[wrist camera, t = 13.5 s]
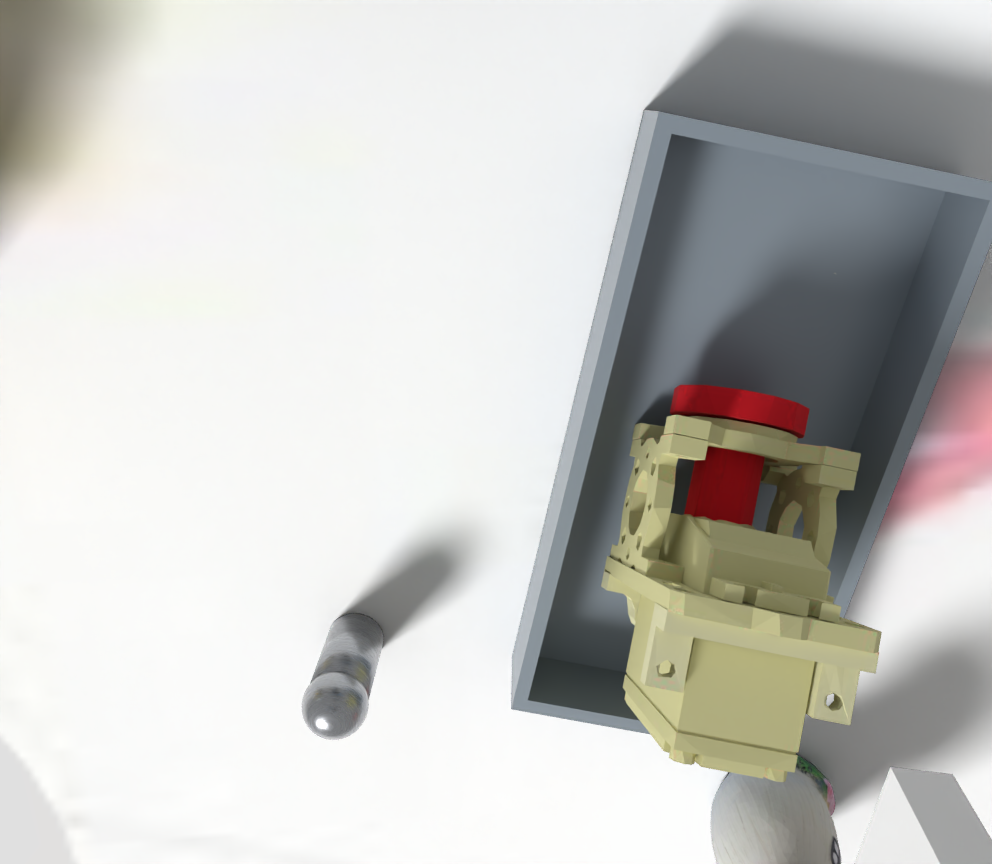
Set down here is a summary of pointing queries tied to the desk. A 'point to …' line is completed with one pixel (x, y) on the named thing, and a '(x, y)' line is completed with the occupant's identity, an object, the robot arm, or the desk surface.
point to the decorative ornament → (775, 819)
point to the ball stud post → (343, 677)
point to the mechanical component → (735, 584)
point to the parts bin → (745, 356)
